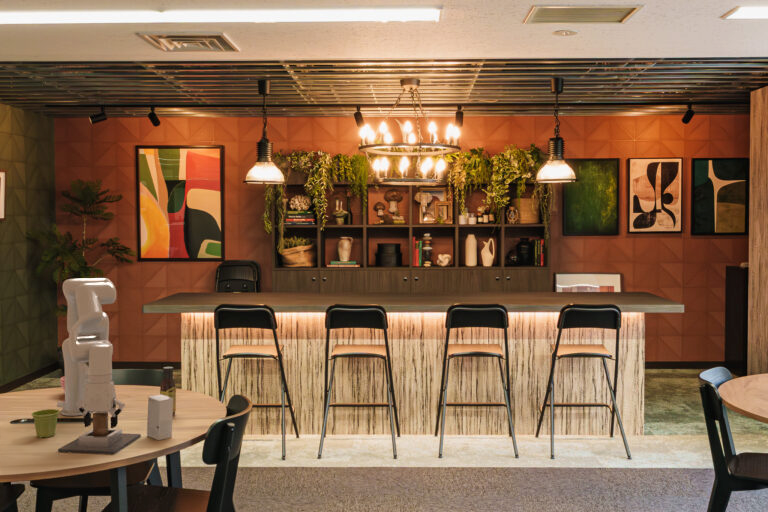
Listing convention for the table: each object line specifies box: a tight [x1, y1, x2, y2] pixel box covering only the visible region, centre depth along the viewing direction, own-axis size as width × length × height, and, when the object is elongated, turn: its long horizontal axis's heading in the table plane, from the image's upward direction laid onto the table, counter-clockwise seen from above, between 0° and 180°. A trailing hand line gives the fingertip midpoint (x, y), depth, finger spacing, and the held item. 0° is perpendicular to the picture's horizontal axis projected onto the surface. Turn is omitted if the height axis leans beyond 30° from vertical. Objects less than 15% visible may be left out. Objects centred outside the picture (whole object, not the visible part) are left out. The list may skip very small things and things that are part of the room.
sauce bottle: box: [159, 366, 177, 417], centre depth 279 cm, size 6×6×20 cm
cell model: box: [60, 375, 65, 392], centre depth 314 cm, size 17×20×11 cm
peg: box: [92, 412, 109, 437], centre depth 242 cm, size 5×5×10 cm
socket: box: [57, 428, 142, 455], centre depth 242 cm, size 20×20×4 cm
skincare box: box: [146, 394, 174, 441], centre depth 251 cm, size 8×6×15 cm
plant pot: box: [31, 408, 61, 439], centre depth 251 cm, size 9×9×9 cm
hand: (100, 426), depth 242 cm, fingers open, 9 cm apart
